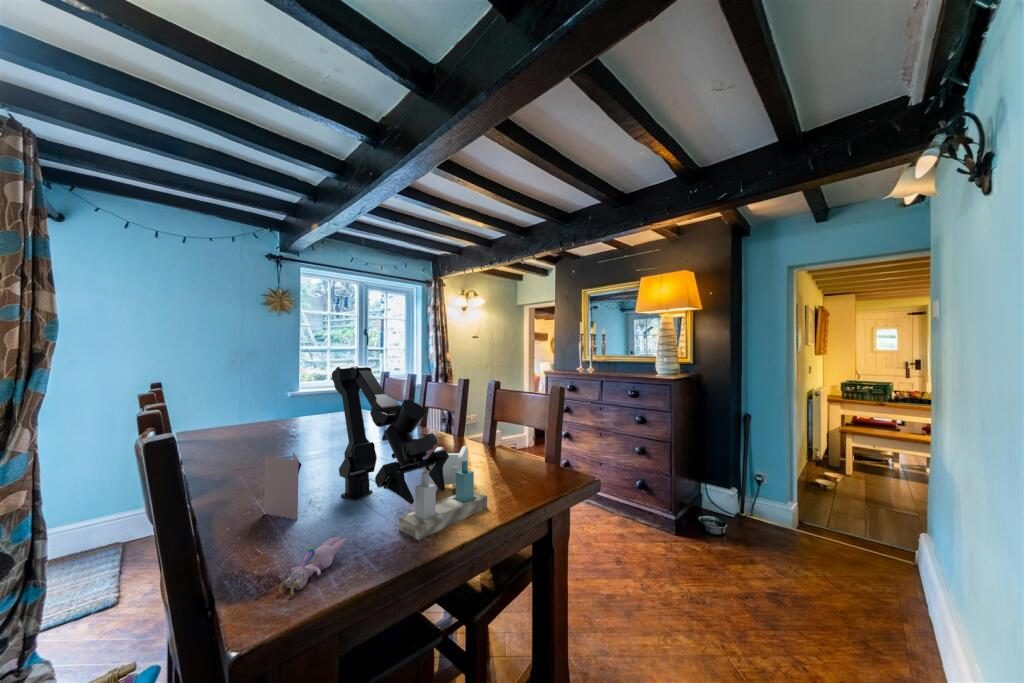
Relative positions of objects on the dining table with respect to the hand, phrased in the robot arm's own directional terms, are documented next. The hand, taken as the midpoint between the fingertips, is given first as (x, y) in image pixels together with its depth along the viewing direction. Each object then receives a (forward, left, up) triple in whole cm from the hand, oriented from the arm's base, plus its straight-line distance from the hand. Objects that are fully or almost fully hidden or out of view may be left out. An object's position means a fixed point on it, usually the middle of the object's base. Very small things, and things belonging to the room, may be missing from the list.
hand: (428, 497), depth 86 cm
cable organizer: (-11, +25, -8) cm, 28 cm away
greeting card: (-40, -9, -8) cm, 42 cm away
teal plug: (+2, +13, -8) cm, 15 cm away
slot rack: (0, +7, -8) cm, 10 cm away
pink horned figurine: (-9, -22, -8) cm, 26 cm away
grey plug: (-1, 0, -8) cm, 8 cm away
